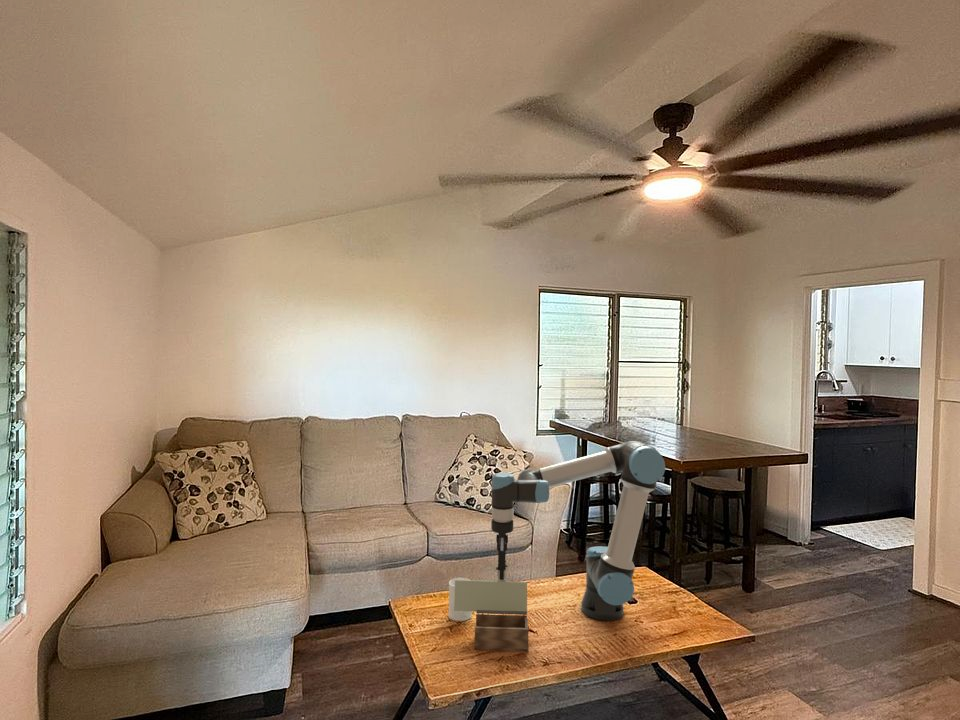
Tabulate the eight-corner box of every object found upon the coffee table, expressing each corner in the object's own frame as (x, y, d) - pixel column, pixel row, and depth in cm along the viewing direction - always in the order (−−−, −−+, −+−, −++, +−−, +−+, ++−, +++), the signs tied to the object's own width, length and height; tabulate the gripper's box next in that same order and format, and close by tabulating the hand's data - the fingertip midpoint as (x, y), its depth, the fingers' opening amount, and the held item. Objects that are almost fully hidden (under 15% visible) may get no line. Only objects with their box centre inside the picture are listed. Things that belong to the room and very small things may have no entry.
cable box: (527, 636, 176) (527, 615, 176) (528, 651, 168) (528, 629, 167) (476, 634, 177) (476, 614, 177) (474, 649, 168) (474, 627, 168)
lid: (527, 615, 177) (526, 613, 179) (527, 582, 179) (526, 581, 182) (453, 612, 178) (454, 611, 180) (454, 580, 180) (455, 579, 183)
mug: (475, 624, 184) (475, 590, 184) (450, 626, 182) (451, 592, 182) (469, 608, 196) (470, 576, 195) (446, 610, 194) (447, 578, 194)
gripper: (492, 512, 188) (491, 578, 188) (490, 525, 175) (489, 595, 175) (513, 513, 187) (512, 579, 188) (513, 525, 174) (512, 596, 175)
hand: (501, 587), depth 182 cm, fingers closed
